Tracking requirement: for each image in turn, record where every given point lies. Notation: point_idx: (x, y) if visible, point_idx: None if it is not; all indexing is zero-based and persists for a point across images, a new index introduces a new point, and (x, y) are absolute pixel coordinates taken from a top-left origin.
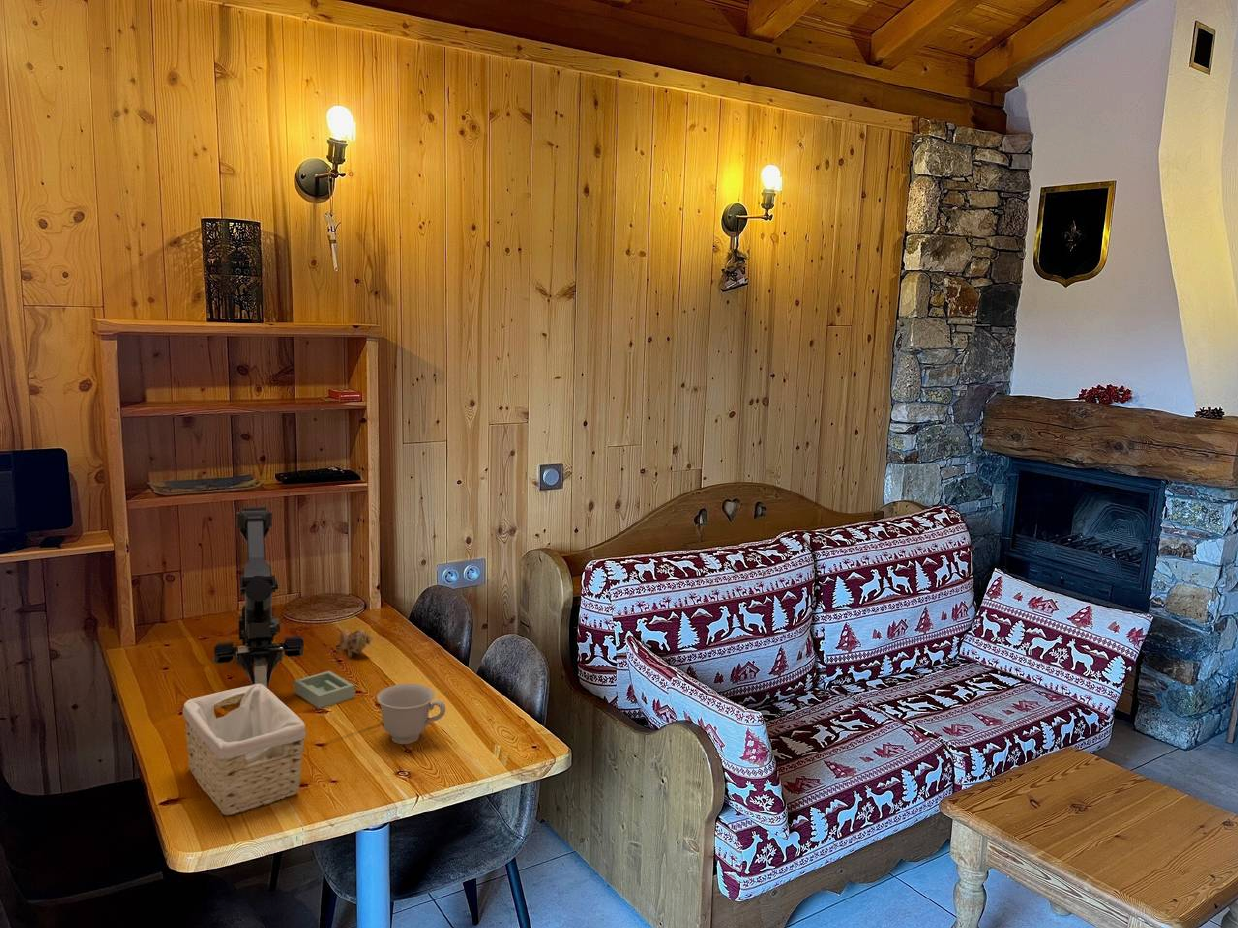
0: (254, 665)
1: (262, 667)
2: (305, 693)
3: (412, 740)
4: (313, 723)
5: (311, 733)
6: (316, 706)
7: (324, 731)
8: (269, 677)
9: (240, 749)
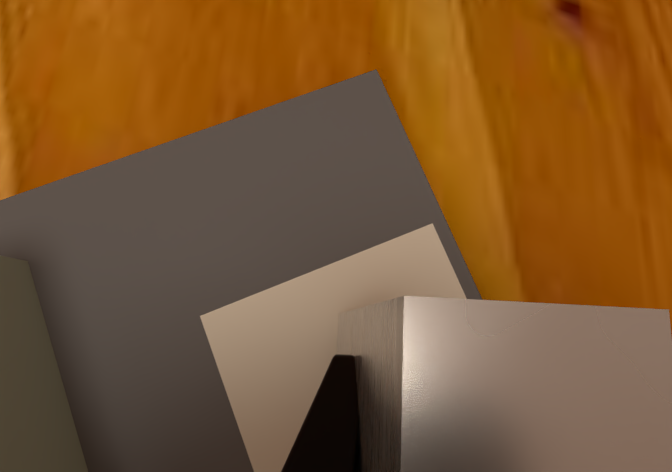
0: None
1: (479, 302)
2: (26, 451)
3: None
4: (97, 163)
5: (134, 56)
6: (16, 290)
7: (65, 54)
8: (317, 401)
9: None
